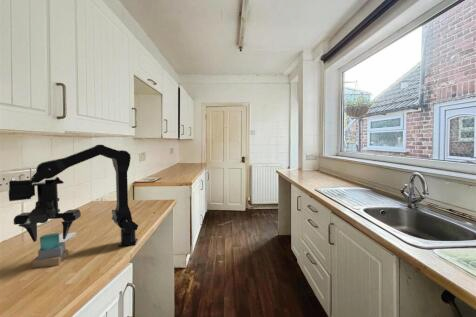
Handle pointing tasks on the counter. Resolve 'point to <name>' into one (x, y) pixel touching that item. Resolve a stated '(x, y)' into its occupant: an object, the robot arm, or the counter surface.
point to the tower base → (49, 261)
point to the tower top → (52, 252)
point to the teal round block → (49, 241)
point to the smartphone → (66, 236)
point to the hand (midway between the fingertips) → (49, 240)
